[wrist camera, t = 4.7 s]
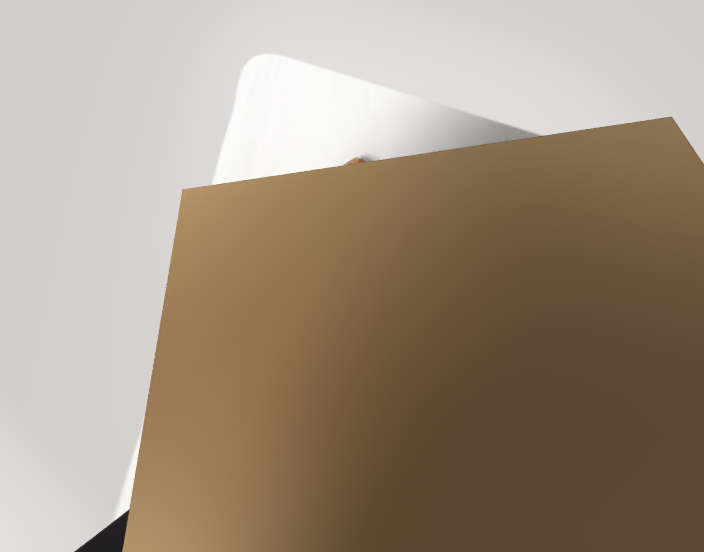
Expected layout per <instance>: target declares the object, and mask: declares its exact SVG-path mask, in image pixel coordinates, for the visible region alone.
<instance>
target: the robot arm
mask: <svg viewBox="0 0 704 552" xmlns="http://www.w3.org/2000/svg"><path fill="white" fill-rule="evenodd" d="M128 515H129V510H128V511H127V512H125V513H124V514H123V515H121V516H120V517H119V518H118V519H116V520H115V521H114V522H112V523H111V524H110V525H109V526H107V527H106V528H105V529H103V530H102V531H101V532H99V533H98V534H97V535H96V536H94V537H93V538H92V539H90V540H89V541H88V542H86V543H85V544H84V545H83V546H81V547H80V548H79V549H77V550H76V551H75V552H122V551H123V545H124V539H125V533H126V527H127V521H128Z"/></svg>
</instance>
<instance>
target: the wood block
mask: <svg viewBox="0 0 704 552" xmlns="http://www.w3.org/2000/svg"><path fill="white" fill-rule="evenodd" d="M122 552H704V164H703V162H702V161H701V159H700V158H699V156H698V155H697V153H696V152H695V150H694V149H693V147H692V146H691V145H690V143H689V142H688V140H687V139H686V137H685V136H684V134H683V133H682V131H681V130H680V128H679V127H678V125H677V124H676V122H675V121H674V119H673V118H672V117H667V118H660V119H653V120H647V121H640V122H634V123H627V124H620V125H613V126H606V127H600V128H593V129H586V130H579V131H573V132H566V133H559V134H552V135H546V136H539V137H532V138H526V139H519V140H512V141H505V142H499V143H492V144H485V145H479V146H472V147H465V148H458V149H452V150H445V151H438V152H432V153H425V154H418V155H411V156H405V157H398V158H391V159H385V160H378V161H371V162H364V163H358V164H351V165H344V166H338V167H331V168H324V169H317V170H311V171H304V172H297V173H291V174H284V175H277V176H270V177H264V178H257V179H250V180H244V181H237V182H230V183H223V184H217V185H211V186H203V187H197V188H191V189H183V190H182V196H181V202H180V208H179V214H178V221H177V226H176V233H175V238H174V245H173V251H172V257H171V263H170V269H169V275H168V282H167V287H166V293H165V299H164V305H163V311H162V317H161V323H160V329H159V335H158V341H157V347H156V353H155V359H154V365H153V371H152V377H151V384H150V389H149V395H148V401H147V407H146V413H145V419H144V425H143V431H142V437H141V443H140V449H139V455H138V461H137V467H136V473H135V479H134V485H133V491H132V497H131V503H130V509H129V515H128V521H127V527H126V533H125V539H124V545H123V551H122Z"/></svg>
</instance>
